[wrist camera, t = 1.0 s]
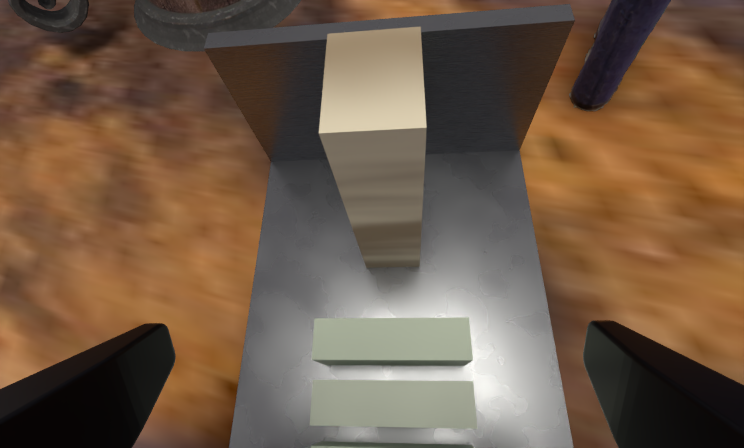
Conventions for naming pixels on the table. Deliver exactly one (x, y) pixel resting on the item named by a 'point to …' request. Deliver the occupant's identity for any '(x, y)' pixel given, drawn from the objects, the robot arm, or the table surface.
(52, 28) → the tankard
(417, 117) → the birch block
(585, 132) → the table surface
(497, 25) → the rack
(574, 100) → the flask
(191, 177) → the table surface
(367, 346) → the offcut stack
